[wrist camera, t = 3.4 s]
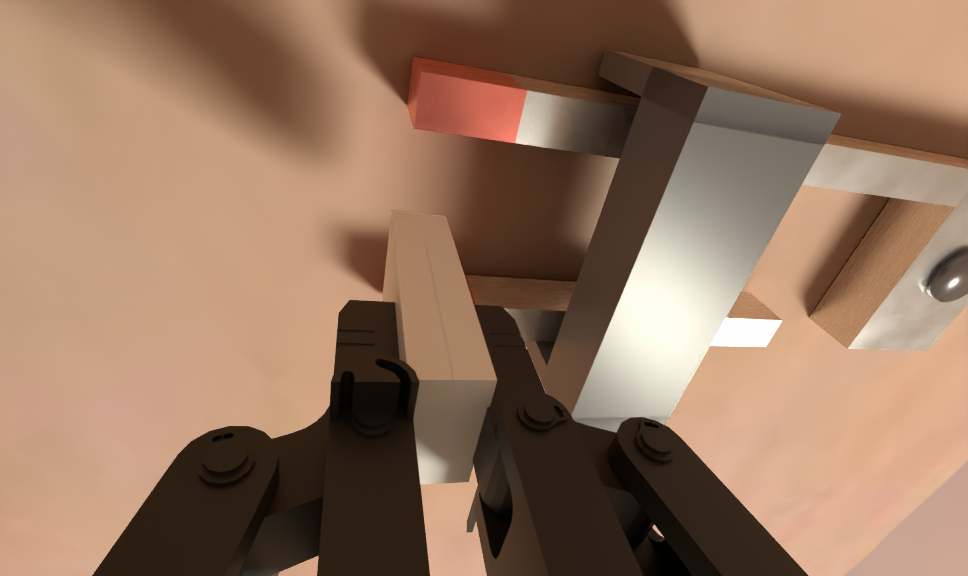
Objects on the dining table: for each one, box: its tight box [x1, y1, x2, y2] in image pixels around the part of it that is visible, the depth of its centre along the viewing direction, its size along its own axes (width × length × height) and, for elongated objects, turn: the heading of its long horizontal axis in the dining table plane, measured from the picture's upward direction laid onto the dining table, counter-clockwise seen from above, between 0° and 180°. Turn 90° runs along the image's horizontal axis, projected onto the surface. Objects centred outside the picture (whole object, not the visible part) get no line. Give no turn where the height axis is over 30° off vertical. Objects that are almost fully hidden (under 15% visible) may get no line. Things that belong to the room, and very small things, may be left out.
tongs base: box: [407, 56, 968, 351], centre depth 20 cm, size 28×9×3 cm, turn 79°
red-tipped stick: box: [465, 275, 782, 347], centre depth 20 cm, size 17×2×2 cm, turn 79°
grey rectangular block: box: [524, 49, 842, 432], centre depth 17 cm, size 4×12×6 cm, turn 169°
